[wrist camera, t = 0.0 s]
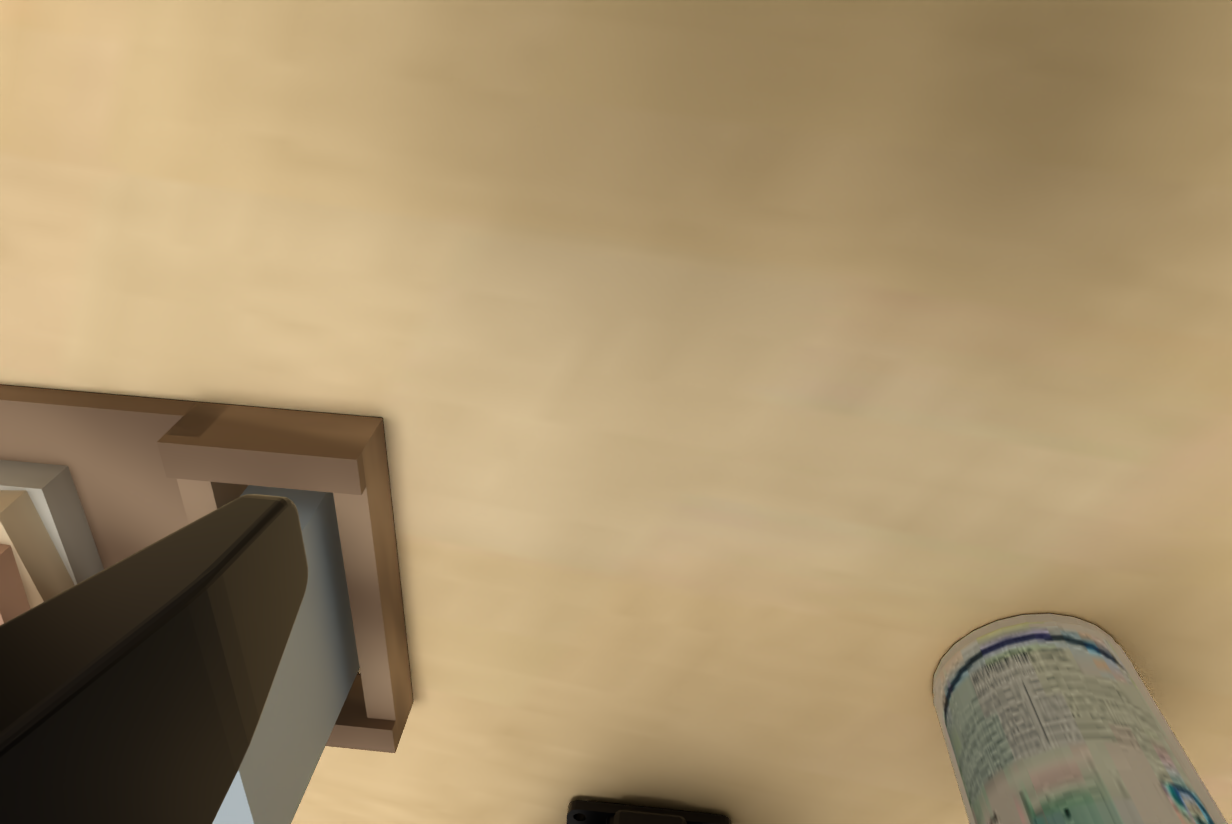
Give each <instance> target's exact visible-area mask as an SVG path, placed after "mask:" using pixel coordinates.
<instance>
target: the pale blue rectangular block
mask: <svg viewBox="0 0 1232 824" xmlns="http://www.w3.org/2000/svg"><path fill="white" fill-rule="evenodd" d="M247 494H259V495H270V496H280V497H287V498H289V499H290V500H292V501H293V502H294V504H295V505H296V507H297V511H298V514H299V520H300V525H301V531H302V536H303V542H304V547H305V553H306V558H307V564H308V582H307V587H306V591H305V595H304V598H303V600H302V603H301V606H300V609H299V611H298V614H297V617H296V620H295V623H294V625H293V628H292V631H291V634H290V637H289V639H288V642H287V645H286V648H285V650H284V653H283V656H282V659H281V662H280V664H279V667H278V670H277V673H276V675H275V678H274V681H273V684H272V687H271V689H270V692H269V695H268V698H267V700H266V703H265V706H264V709H263V712H262V714H261V717H260V720H259V723H258V725H257V728H256V730H255V733H254V735H253V738H252V740H251V743H250V746H249V748H248V750H247V752H246V754H245V757H244V759H243V761H242V763H241V765H240V768H239V770H238V772H237V774H236V776H235V778H234V780H233V782H232V784H231V786H230V788H229V790H228V792H227V794H226V797H225V799H224V801H223V803H222V805H221V807H220V809H219V811H218V813H217V815H216V817H215V819H214V821H213V823H212V824H291V822H292V820H293V818H294V815H295V813H296V811H297V809H298V806H299V804H300V802H301V800H302V797H303V795H304V793H305V790H306V788H307V786H308V784H309V781H310V779H311V777H312V775H313V772H314V770H315V768H316V766H317V763H318V761H319V759H320V757H321V754H322V752H323V750H324V748H325V745H326V743H327V741H328V738H329V736H330V734H331V732H332V729H333V727H334V725H335V723H336V720H337V718H338V716H339V714H340V711H341V709H342V707H343V705H344V702H345V700H346V698H347V695H348V693H349V691H350V689H351V686H352V684H353V682H354V680H355V677H356V675H357V673H358V671H359V668H360V666H359V660H358V653H357V647H356V640H355V634H354V627H353V620H352V614H351V607H350V601H349V594H348V588H347V581H346V574H345V568H344V561H343V555H342V548H341V542H340V535H339V528H338V522H337V515H336V509H335V502H334V496H333V493H330V492H319V491H308V490H297V489H286V488H275V487H264V486H253V485H248V486H247V488H246V489H245V490H244V492H243V493H242V494H241V495H240V497H241V496H243V495H247Z"/></svg>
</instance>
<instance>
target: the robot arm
mask: <svg viewBox="0 0 1232 824" xmlns="http://www.w3.org/2000/svg"><path fill="white" fill-rule="evenodd" d="M307 582H308V564H307V558H306V553H305V547H304V542H303V536H302V531H301V525H300V520H299V514H298V511H297V507H296V505H295V504H294V502H293V501H292V500H290V499H289V498H287V497H280V496H270V495H259V494H247V495H243V496H241V497H239V498H237V499H235V500H233V501H231V502H229V503H227V504H225V505H224V506H222V507H220V508H218V509H216V510H214V511H212V512H210V513H209V514H207V515H205V516H203V517H201V518H199V519H197V520H196V521H194V522H192V523H190V524H188V525H186V526H184V527H183V528H181V529H179V530H177V531H175V532H173V533H171V534H170V535H168V536H166V537H164V538H162V539H160V540H158V541H156V542H155V543H153V544H151V545H149V546H147V547H145V548H143V549H142V550H140V551H138V552H136V553H134V554H132V555H130V556H129V557H127V558H125V559H123V560H121V561H119V562H117V563H115V564H114V565H112V566H110V567H108V568H106V569H104V570H102V571H101V572H99V573H97V574H95V575H93V576H91V577H89V578H88V579H86V580H84V581H82V582H80V583H78V584H76V585H74V586H73V587H71V588H69V589H67V590H65V591H63V592H61V593H60V594H58V595H56V596H54V597H52V598H50V599H48V600H47V601H45V602H43V603H41V604H39V605H37V606H35V607H33V608H32V609H30V610H28V611H26V612H24V613H22V614H20V615H19V616H17V617H15V618H13V619H11V620H9V621H7V622H6V623H4V624H2V625H0V824H212V823H213V821H214V819H215V817H216V815H217V813H218V811H219V809H220V807H221V805H222V803H223V801H224V799H225V797H226V794H227V792H228V790H229V788H230V786H231V784H232V782H233V780H234V778H235V776H236V774H237V772H238V770H239V768H240V765H241V763H242V761H243V759H244V757H245V754H246V752H247V750H248V748H249V746H250V743H251V740H252V738H253V735H254V733H255V730H256V728H257V725H258V723H259V720H260V717H261V714H262V712H263V709H264V706H265V703H266V700H267V698H268V695H269V692H270V689H271V687H272V684H273V681H274V678H275V675H276V673H277V670H278V667H279V664H280V662H281V659H282V656H283V653H284V650H285V648H286V645H287V642H288V639H289V637H290V634H291V631H292V628H293V625H294V623H295V620H296V617H297V614H298V611H299V609H300V606H301V603H302V600H303V598H304V595H305V591H306V587H307ZM567 824H732V822H731V820H730V819H729V818H728V817H726V816H723V815H717V814H708V813H698V812H689V811H679V810H669V809H660V808H650V807H641V806H631V805H622V804H612V803H603V802H593V801H584V800H576V801H573V802H571V803H570V804H569V806H568V813H567Z"/></svg>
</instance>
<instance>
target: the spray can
mask: <svg viewBox="0 0 1232 824" xmlns="http://www.w3.org/2000/svg"><path fill="white" fill-rule="evenodd" d="M933 694H934V700H933V703H934V706H935V709H936V712H937V716H938V719H939V722H940V726H941V729H942V732H943V736H944V739H945V742H946V746H947V749H948V753H949V756H950V759H951V763H952V766H953V769H954V773H955V776H956V779H957V783H958V786H959V790H960V793H961V796H962V800H963V803H964V806H965V810H966V813H967V816H968V820H969V823H970V824H1228V823H1227V822H1226V820H1225V818H1224V817H1223V815H1222V813H1221V812H1220V810H1219V808H1218V807H1217V805H1216V803H1215V802H1214V800H1213V798H1212V797H1211V795H1210V793H1209V792H1208V790H1207V788H1206V787H1205V785H1204V783H1203V782H1202V780H1201V778H1200V777H1199V775H1198V773H1197V772H1196V770H1195V768H1194V767H1193V765H1192V763H1191V762H1190V760H1189V758H1188V757H1187V755H1186V753H1185V752H1184V750H1183V748H1182V747H1181V745H1180V743H1179V742H1178V740H1177V738H1176V737H1175V735H1174V733H1173V732H1172V730H1171V728H1170V727H1169V725H1168V723H1167V722H1166V720H1165V718H1164V717H1163V715H1162V713H1161V712H1160V710H1159V708H1158V707H1157V705H1156V703H1155V702H1154V700H1153V698H1152V697H1151V695H1150V693H1149V692H1148V690H1147V688H1146V687H1145V685H1144V683H1143V682H1142V680H1141V678H1140V677H1139V675H1138V673H1137V672H1136V670H1135V668H1134V666H1133V665H1132V663H1131V661H1130V660H1129V658H1128V657H1127V655H1126V654H1125V652H1124V651H1123V649H1122V648H1121V646H1120V645H1118V644H1117V643H1116V642H1115V641H1114V640H1113V638H1112V637H1111V636H1110V635H1108V634H1107V633H1106V632H1104V631H1103V630H1101V629H1100V628H1099V627H1097V626H1096V625H1094V624H1091V623H1089V622H1086V621H1083V620H1081V619H1078V618H1075V617H1070V616H1063V615H1056V614H1029V615H1020V616H1016V617H1011V618H1007V619H1002V620H998V621H995V622H993V623H991V624H988V625H986V626H984V627H981V628H979V629H977V630H974V631H973V632H971V633H970V634H968V635H967V636H965V637H964V638H963V639H961V640H960V641H958V642H957V643H955V644H954V645H953V647H952V648H951V649H950V650H949V651H948V652H947V653H946V654H945V656H944V657H943V658H942V659H941V661H940V663H939V665H938V667H937V670H936V672H935V674H934V681H933Z"/></svg>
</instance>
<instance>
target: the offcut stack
mask: <svg viewBox="0 0 1232 824" xmlns="http://www.w3.org/2000/svg"><path fill="white" fill-rule="evenodd" d="M102 570H104V568H103V565H102V562H101V559H100V556H99V553H98V551H97V548H96V545H95V542H94V539H93V536H92V533H91V530H90V528H89V525H88V522H87V519H86V516H85V513H84V510H83V508H82V505H81V502H80V499H79V496H78V493H77V490H76V488H75V485H74V482H73V479H72V476H71V473H70V470H69V467H68V466H64V465H53V464H42V463H31V462H20V461H9V460H0V625H2V624H4V623H6V622H7V621H9V620H11V619H13V618H15V617H17V616H19V615H20V614H22V613H24V612H26V611H28V610H30V609H32V608H33V607H35V606H37V605H39V604H41V603H43V602H45V601H47V600H48V599H50V598H52V597H54V596H56V595H58V594H60V593H61V592H63V591H65V590H67V589H69V588H71V587H73V586H74V585H76V584H78V583H80V582H82V581H84V580H86V579H88V578H89V577H91V576H93V575H95V574H97V573H99V572H101V571H102Z"/></svg>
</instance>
